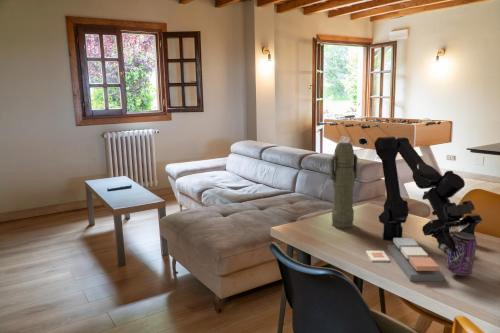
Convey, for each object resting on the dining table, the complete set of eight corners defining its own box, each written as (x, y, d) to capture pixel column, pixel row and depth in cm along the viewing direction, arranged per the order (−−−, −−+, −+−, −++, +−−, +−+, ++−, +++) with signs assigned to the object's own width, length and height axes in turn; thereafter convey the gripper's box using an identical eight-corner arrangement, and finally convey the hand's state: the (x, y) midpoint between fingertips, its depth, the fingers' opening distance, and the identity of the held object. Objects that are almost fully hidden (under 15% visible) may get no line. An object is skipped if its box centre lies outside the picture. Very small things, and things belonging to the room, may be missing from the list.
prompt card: (366, 252, 146) (366, 250, 146) (383, 252, 146) (383, 250, 146) (371, 261, 138) (371, 259, 138) (389, 261, 138) (389, 259, 138)
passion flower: (452, 270, 143) (443, 249, 137) (429, 253, 152) (420, 233, 146) (476, 250, 144) (468, 228, 138) (452, 234, 153) (444, 213, 147)
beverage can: (441, 266, 130) (447, 230, 128) (462, 267, 131) (468, 231, 129) (454, 276, 123) (460, 238, 121) (476, 277, 124) (483, 239, 122)
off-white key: (400, 251, 138) (400, 247, 138) (420, 251, 138) (420, 247, 138) (407, 259, 132) (407, 254, 132) (427, 259, 132) (428, 254, 131)
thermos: (324, 224, 176) (325, 143, 170) (347, 220, 181) (349, 141, 174) (337, 230, 168) (339, 145, 162) (360, 226, 173) (362, 143, 167)
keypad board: (387, 250, 147) (387, 244, 147) (415, 250, 147) (416, 244, 147) (410, 281, 124) (410, 275, 124) (444, 281, 123) (444, 275, 123)
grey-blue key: (393, 241, 147) (393, 238, 146) (411, 241, 146) (411, 237, 146) (398, 248, 140) (399, 244, 140) (418, 248, 140) (418, 244, 140)
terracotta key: (409, 261, 130) (409, 257, 130) (430, 261, 130) (430, 257, 129) (416, 270, 124) (416, 266, 123) (438, 270, 123) (438, 266, 123)
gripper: (431, 195, 124) (456, 243, 115) (480, 189, 129) (507, 234, 121) (412, 212, 133) (434, 258, 124) (458, 206, 138) (483, 249, 130)
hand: (465, 249), depth 125 cm, fingers closed on beverage can, 7 cm apart
